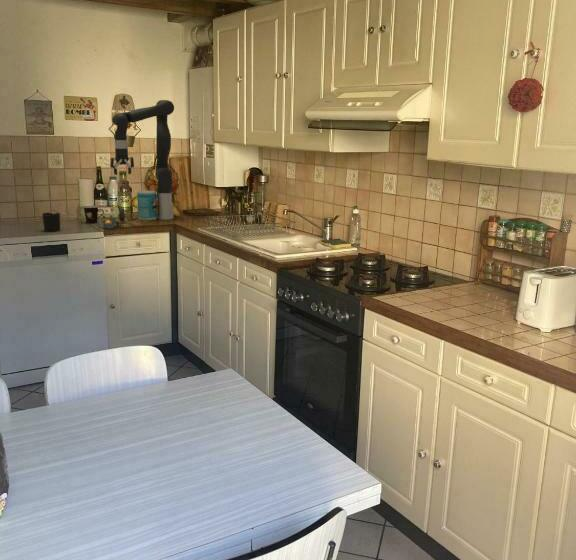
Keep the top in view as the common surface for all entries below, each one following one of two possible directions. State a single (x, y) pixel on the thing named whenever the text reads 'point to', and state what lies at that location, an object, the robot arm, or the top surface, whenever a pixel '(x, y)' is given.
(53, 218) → the pen holder
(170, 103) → the robot arm
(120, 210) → the striker
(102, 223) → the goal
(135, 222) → the rail
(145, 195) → the food can
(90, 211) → the coffee mug
